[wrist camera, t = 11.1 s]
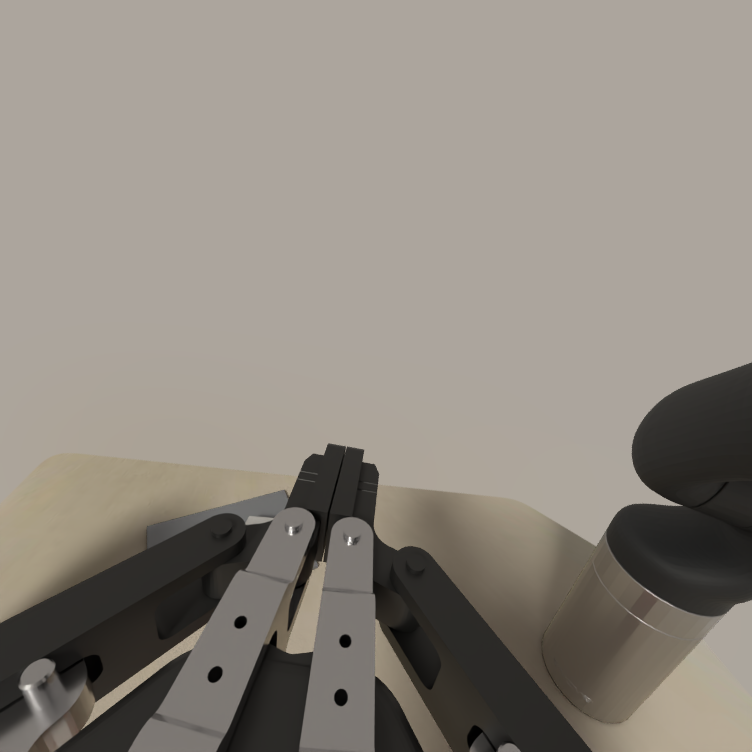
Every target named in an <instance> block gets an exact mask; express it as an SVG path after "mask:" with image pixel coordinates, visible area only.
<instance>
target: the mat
mask: <svg viewBox="0 0 752 752" xmlns="http://www.w3.org/2000/svg"><path fill="white" fill-rule="evenodd" d="M287 502H288V497H287V495H286V493H285V491H284V490H282V491H278V492H274V493H270V494H267V495H263V496H259V497H255V498H252V499H248V500H244V501H240V502H237V503H233V504H229V505H225V506H222V507H218V508H214V509H210V510H207V511H203V512H199V513H195V514H192V515H188V516H184V517H180V518H177V519H173V520H169V521H165V522H162V523H158V524H154V525H150V526H147V549H149V548H151V547H153V546H155V545H157V544H159V543H161V542H163V541H165V540H167V539H169V538H171V537H173V536H175V535H177V534H179V533H181V532H183V531H185V530H186V529H188V528H190V527H192V526H194V525H196V524H198V523H200V522H202V521H204V520H206V519H208V518H210V517H212V516H215V515H218V514H222V513H232V514H236V515H238V516H240V517H241V518H242V519H243V520H244V522H245V523H246V521H247V519H248V517H249V516H256V517H268V518H274V517H275V516H276V515H277V514H278V513H279V512H281V511H282V510H284V509H285V507H286V504H287ZM315 568H318V564H317V562H316V561H315V562H314V566H313V569H315ZM313 569H312V570H313Z"/></svg>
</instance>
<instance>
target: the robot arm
mask: <svg viewBox="0 0 752 752" xmlns="http://www.w3.org/2000/svg"><path fill="white" fill-rule="evenodd" d="M345 450H346V452H345ZM363 454H364V450H363V449H357V448H352V447H347V449H346V447H345V446H339V445H334V444H328V445H327V448H326V451H325V454H324V455H318V454H312V455H311V456H310V457H309V458H307V459H306V460H305V461H304V464H303V466H302V468H301V472H300V473H299V475H298V478H297V480H296V483H295V485H294V487H293V490H292V492H291V495H290V497H289V499H288V502H287V504H286V507H285V509H284V510H282V511H281V512H279V513H278V514H277V515H276V516H275V517H274V519H273V520H271V521H269V522H265V523H260V524H250V525H246V524H245V522H244V520H243V519H242V518H241V517H240V516H238V515H236V514H232V513H222V514H218V515H215V516H212V517H210V518H208V519H206V520H204V521H202V522H200V523H198V524H196V525H194V526H192V527H190V528H188V529H186V530H185V531H183V532H181V533H179V534H177V535H175V536H173V537H171V538H169V539H167V540H165V541H163V542H161V543H159V544H157V545H155V546H153V547H151V548H149V549H147V550H145V551H143V552H141V553H139V554H137V555H135V556H133V557H131V558H129V559H127V560H125V561H123V562H121V563H119V564H117V565H115V566H113V567H111V568H109V569H107V570H105V571H103V572H101V573H99V574H97V575H95V576H93V577H91V578H89V579H87V580H85V581H83V582H81V583H79V584H77V585H75V586H73V587H71V588H69V589H67V590H65V591H63V592H61V593H59V594H57V595H55V596H53V597H51V598H49V599H47V600H45V601H43V602H41V603H39V604H37V605H35V606H33V607H31V608H29V609H27V610H25V611H23V612H21V613H19V614H17V615H15V616H13V617H11V618H9V619H8V620H6V621H4V622H2V623H0V752H423V750H422V748H421V746H420V744H419V742H418V740H417V738H416V736H415V734H414V732H413V730H412V728H411V726H410V724H409V722H408V720H407V718H406V716H405V714H404V712H403V710H402V708H401V706H400V704H399V703H398V701H397V700H396V698H395V697H394V695H393V693H392V692H391V691H390V690H389V689H388V687H387V686H386V685H385V684H384V683H383V682H382V681H381V680H380V679H379V678H377V677H376V676H375V619H377V620H379V623H380V627H381V629H382V631H383V633H384V634H385V636H386V638H387V640H388V641H389V643H390V645H391V646H392V648H393V650H394V652H395V653H396V655H397V657H398V658H399V660H400V662H401V663H402V665H403V667H404V669H405V670H406V672H407V674H408V675H409V677H410V679H411V681H412V682H413V684H414V686H415V687H416V689H417V691H418V693H419V694H420V696H421V698H422V699H423V701H424V703H425V704H426V706H427V708H428V710H429V711H430V713H431V715H432V716H433V718H434V720H435V722H436V723H437V725H438V727H439V728H440V730H441V732H442V733H443V735H444V737H445V739H446V740H447V742H448V744H449V745H450V747H451V749H452V751H453V752H592V751H591V750H590V748H589V747H588V746H587V745H586V744H585V742H584V741H583V740H582V739H581V737H580V736H579V735H578V734H577V733H576V731H575V730H574V729H573V728H572V727H571V725H570V724H569V723H568V722H567V720H566V719H565V718H564V717H563V716H562V714H561V713H560V712H559V711H558V709H557V708H556V707H555V706H554V705H553V703H552V702H551V701H550V700H549V699H548V697H547V696H546V695H545V694H544V692H543V691H542V690H541V689H540V688H539V686H538V685H537V684H536V683H535V682H534V680H533V679H532V678H531V677H530V675H529V674H528V673H527V672H526V671H525V669H524V668H523V667H522V666H521V665H520V663H519V662H518V661H517V660H516V658H515V657H514V656H513V655H512V654H511V652H510V651H509V650H508V649H507V648H506V646H505V645H504V644H503V643H502V641H501V640H500V639H499V638H498V637H497V635H496V634H495V633H494V632H493V631H492V629H491V628H490V627H489V626H488V624H487V623H486V622H485V621H484V620H483V618H482V617H481V616H480V615H479V613H478V612H477V611H476V610H475V609H474V607H473V606H472V605H471V604H470V603H469V601H468V600H467V599H466V598H465V596H464V595H463V594H462V593H461V592H460V590H459V589H458V588H457V587H456V586H455V584H454V583H453V582H452V581H451V579H450V578H449V577H448V576H447V575H446V573H445V572H444V571H443V570H442V569H441V567H440V566H439V565H438V564H437V562H436V561H435V560H434V559H433V558H432V556H431V555H430V554H429V553H427V552H426V551H424V550H423V549H421V548H418V547H413V546H408V547H404V548H401V549H400V550H399V551H397V550H395V549H393V548H391V547H389V546H387V545H386V544H384V543H383V542H382V541H381V540H380V539H379V538H378V537H377V535H376V533H375V531H374V515H375V506H376V497H377V487H378V478H379V473H378V471H377V468H376V466H375V465H374V464H370V463H364V462H362V460H363ZM632 459H633V465H634V468H635V470H636V473H637V474H638V476H639V477H640V479H641V480H642V482H643V483H644V484H645V485H646V486H647V487H649V488H650V489H651V490H653V491H655V492H656V493H658V494H659V495H661V496H662V497H664V498H666V499H668V500H670V501H672V502H675V503H677V504H680V505H683V506H666V505H656V504H633V505H629V506H627V507H624V508H622V509H621V510H620V511H619V512H618V513H617V514H616V515H615V517H614V518H613V520H612V522H611V523H610V525H609V527H608V528H607V530H606V532H605V533H604V535H603V537H602V538H601V540H600V542H599V543H598V545H597V547H596V548H595V550H594V552H593V554H592V555H591V557H590V559H589V560H588V562H587V564H586V565H585V567H584V569H583V570H582V572H581V574H580V575H579V577H578V579H577V580H576V582H575V584H574V585H573V587H572V589H571V590H570V592H569V594H568V595H567V597H566V599H565V600H564V602H563V604H562V605H561V607H560V609H559V610H558V612H557V613H556V615H555V617H554V618H553V620H552V622H551V623H550V625H549V627H548V629H547V630H546V632H545V634H544V636H543V640H542V652H543V657H544V661H545V664H546V666H547V669H548V671H549V673H550V675H551V677H552V679H553V680H554V682H555V683H556V685H557V686H558V688H559V689H560V690H561V692H562V693H563V694H564V695H565V696H566V697H567V698H568V699H569V700H570V702H572V703H573V704H574V705H575V706H576V707H577V708H579V709H580V710H581V711H583V712H584V713H586V714H587V715H589V716H590V717H592V718H594V719H597V720H599V721H601V722H606V723H611V724H614V723H621V722H623V721H625V720H627V719H628V718H629V717H630V716H631V715H632V714H633V713H634V712H635V711H636V710H637V709H638V707H639V706H640V705H641V704H642V703H643V702H644V701H645V700H646V699H647V698H648V697H649V696H650V695H651V694H652V693H653V692H654V691H655V690H656V689H657V688H658V687H659V685H660V684H661V683H662V682H663V681H664V680H665V679H666V678H667V677H668V676H669V675H670V674H671V673H672V671H673V670H674V669H675V668H676V667H677V666H678V665H679V664H680V663H681V662H682V661H683V660H684V659H685V658H686V656H687V655H688V654H689V653H690V652H691V651H692V650H693V649H694V648H695V647H696V646H697V645H698V644H699V643H700V641H701V640H702V639H703V638H704V637H705V636H706V635H707V633H708V632H709V631H710V630H711V629H712V628H713V627H714V626H715V625H716V624H717V623H718V622H719V620H721V618H722V617H723V616H724V615H725V614H726V613H727V612H728V611H729V610H730V609H731V608H732V607H733V606H734V605H735V604H738V603H744V602H746V601H750V600H752V363H749V364H746V365H744V366H741V367H738V368H735V369H732V370H729V371H727V372H724V373H721V374H718V375H715V376H712V377H709V378H706V379H703V380H700V381H697V382H695V383H692V384H689V385H687V386H684V387H682V388H680V389H678V390H676V391H674V392H673V393H671V394H670V395H668V396H666V397H665V398H664V399H662V400H661V401H660V402H659V403H658V404H657V405H656V406H654V408H653V409H652V410H651V411H650V412H649V413H648V414H647V415H646V416H645V418H644V419H643V421H642V422H641V424H640V425H639V427H638V429H637V431H636V433H635V436H634V440H633V444H632ZM325 545H326V546H325ZM324 549H325V553H324ZM323 553H324V561H323V562H327V564H326V571H325V577H324V584H323V590H322V597H321V604H320V610H319V617H318V624H317V631H316V638H315V644H314V651H313V652H309V653H300V654H289V653H286V648H287V644H288V640H289V637H290V634H291V631H292V628H293V626H294V623H295V620H296V617H297V614H298V611H299V609H300V606H301V603H302V600H303V597H304V594H305V591H306V589H307V586H308V583H309V577H310V575H311V573H312V569H313V566H314V562H315V561H322V557H323ZM206 623H207V625H206V627H205V629H204V630H203V632H202V634H201V636H200V637H199V639H198V641H197V643H196V644H195V646H194V648H193V649H192V650H190V651H188V652H186V653H184V654H182V655H180V656H179V657H177V658H175V659H174V660H172V661H171V662H169V663H168V664H166V665H165V666H164V667H162V668H161V669H160V670H159V671H157V672H156V673H155V674H153V675H152V676H151V677H150V678H148V679H147V680H146V681H144V682H143V683H142V684H140V685H139V686H138V687H137V688H135V689H134V690H133V691H131V692H130V693H129V694H128V695H126V696H125V697H124V698H122V699H121V700H120V701H118V702H117V703H116V704H115V705H113V706H112V707H111V708H109V709H108V710H107V711H106V712H104V713H103V714H102V715H100V716H99V717H98V718H96V719H95V720H94V721H93V722H91V723H90V724H89V725H87V726H86V727H85V728H83V727H84V725H85V724H86V722H87V721H88V719H89V717H90V715H91V713H92V711H93V708H94V704H95V702H97V701H98V700H99V699H101V698H102V697H104V696H105V695H106V694H108V693H109V692H111V691H112V690H113V689H115V688H116V687H118V686H119V685H121V684H122V683H123V682H125V681H126V680H128V679H129V678H130V677H132V676H133V675H135V674H136V673H137V672H139V671H140V670H142V669H143V668H144V667H146V666H147V665H149V664H150V663H152V662H153V661H154V660H156V659H157V658H159V657H160V656H161V655H163V654H164V653H166V652H167V651H168V650H170V649H171V648H173V647H174V646H175V645H177V644H178V643H180V642H181V641H183V640H184V639H185V638H187V637H188V636H190V635H191V634H192V633H194V632H195V631H197V630H198V629H199V628H201V627H202V626H204V625H205V624H206ZM82 728H83V729H82ZM81 729H82V730H81Z"/></svg>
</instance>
